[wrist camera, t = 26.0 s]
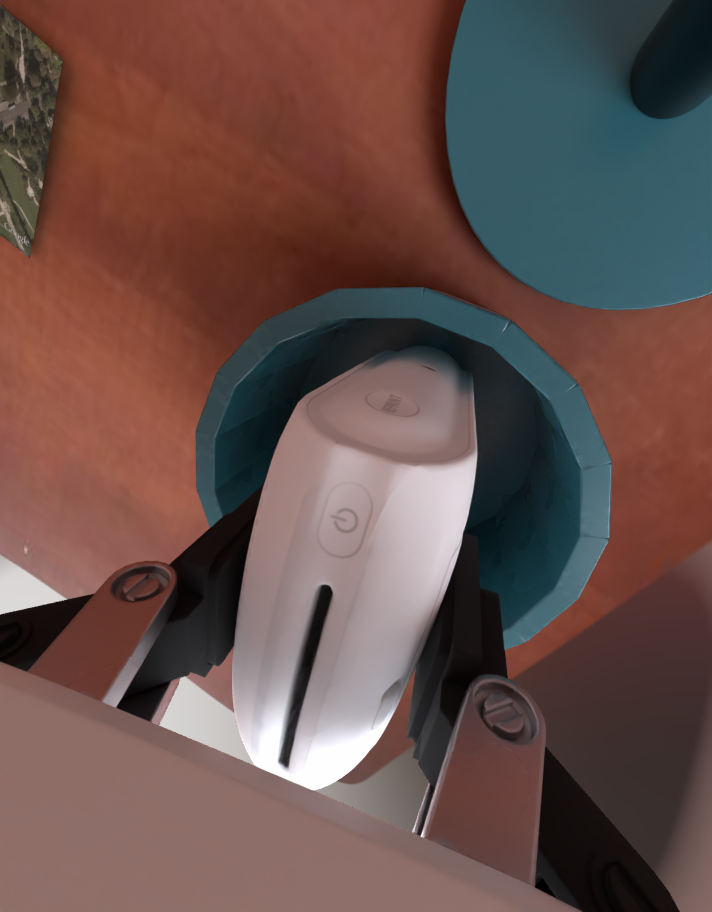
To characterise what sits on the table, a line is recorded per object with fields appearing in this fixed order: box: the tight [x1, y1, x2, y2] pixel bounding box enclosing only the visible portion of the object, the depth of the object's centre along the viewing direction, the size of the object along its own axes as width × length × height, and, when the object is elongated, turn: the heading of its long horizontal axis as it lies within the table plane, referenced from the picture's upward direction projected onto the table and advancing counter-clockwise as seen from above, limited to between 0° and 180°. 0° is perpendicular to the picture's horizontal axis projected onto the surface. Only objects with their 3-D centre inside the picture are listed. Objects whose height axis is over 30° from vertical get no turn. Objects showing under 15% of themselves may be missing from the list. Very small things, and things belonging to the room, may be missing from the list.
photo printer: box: [232, 346, 477, 790], centre depth 13 cm, size 10×4×12 cm, turn 167°
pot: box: [196, 287, 612, 650], centre depth 17 cm, size 14×14×8 cm
